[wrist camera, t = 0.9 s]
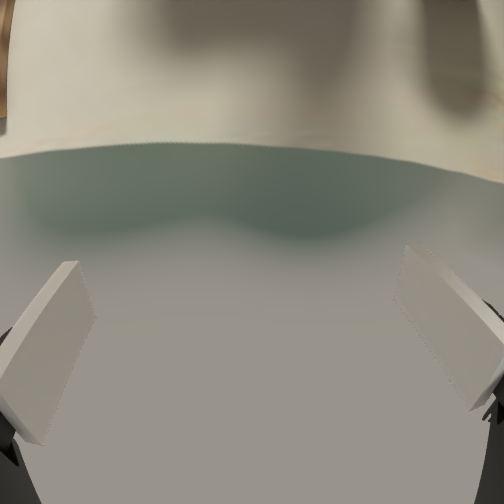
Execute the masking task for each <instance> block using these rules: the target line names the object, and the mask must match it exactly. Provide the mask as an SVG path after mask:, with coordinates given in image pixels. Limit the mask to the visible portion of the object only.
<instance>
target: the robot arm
mask: <svg viewBox="0 0 504 504" xmlns="http://www.w3.org/2000/svg"><path fill="white" fill-rule="evenodd" d="M394 301H395V303H396V304H397V305H398V306H399V308H400V309H401V311H402V312H403V313H404V315H405V316H406V318H407V319H408V320H409V322H410V323H411V324H412V326H413V327H414V329H415V330H416V331H417V333H418V334H419V336H420V337H421V339H422V340H423V341H424V343H425V344H426V346H427V347H428V349H429V350H430V352H431V353H432V355H433V356H434V358H435V359H436V360H437V362H438V363H439V365H440V366H441V368H442V370H443V371H444V373H445V374H446V376H447V377H448V378H449V380H450V382H451V383H452V385H453V386H454V388H455V390H456V391H457V393H458V394H459V396H460V398H461V399H462V401H463V402H464V404H465V406H466V407H467V409H468V411H471V410H473V409H476V408H478V407H480V406H482V405H484V404H485V403H486V401H487V400H488V399H489V397H490V396H491V394H492V393H494V395H495V396H496V399H495V401H494V402H493V403H492V405H491V406H490V408H489V409H488V410H487V412H486V413H485V414H484V416H483V418H482V420H485V419H486V418H487V417H488V415H489V414H490V413H491V418H490V419H489V420H488V422H490V430H489V437H488V443H487V449H486V455H485V460H484V466H483V470H482V475H481V479H480V483H479V487H478V492H477V495H476V499H475V503H474V504H504V318H503V317H502V316H501V315H498V314H499V313H498V312H497V311H496V310H495V309H494V308H493V307H492V306H491V305H490V304H488V303H486V302H485V301H484V300H482V299H480V298H479V297H478V296H477V295H476V294H475V293H474V292H473V291H472V290H471V289H470V288H469V287H468V286H467V285H466V284H465V283H464V282H463V281H462V280H461V279H460V278H459V277H457V276H456V275H455V274H454V273H453V272H452V271H451V270H450V269H449V268H447V266H445V265H444V264H443V263H442V262H441V261H440V260H439V259H438V258H436V257H435V256H434V255H433V254H432V253H431V252H430V251H429V250H427V249H426V248H425V247H424V246H422V245H421V244H406V247H405V252H404V256H403V261H402V266H401V270H400V275H399V279H398V283H397V287H396V291H395V296H394ZM95 319H96V315H95V312H94V309H93V306H92V303H91V300H90V297H89V294H88V290H87V287H86V284H85V280H84V277H83V273H82V270H81V267H80V263H79V261H70V262H69V261H68V262H63V263H62V264H61V265H60V267H59V268H58V269H57V270H56V271H55V273H54V274H53V275H52V276H51V277H50V279H49V280H48V281H47V283H46V284H45V285H44V286H43V288H42V289H41V290H40V291H39V293H38V294H37V295H36V297H35V298H34V299H33V300H32V302H31V303H30V304H29V306H28V307H27V309H26V310H25V311H24V313H23V314H22V315H21V317H20V318H19V320H18V321H17V322H16V324H15V325H14V327H12V328H10V329H9V330H8V331H7V332H6V333H4V334H3V335H2V336H1V338H0V504H41V502H40V499H39V497H38V495H37V493H36V491H35V488H34V486H33V484H32V481H31V479H30V476H29V474H28V471H27V469H26V466H25V463H24V461H23V458H22V455H21V452H20V450H19V446H18V444H17V442H16V441H15V439H14V438H13V436H14V434H15V431H17V433H18V434H19V435H20V436H21V437H22V438H23V439H24V440H25V441H26V442H30V443H33V444H37V445H40V446H44V443H45V440H46V437H47V434H48V431H49V428H50V426H51V423H52V420H53V417H54V415H55V412H56V409H57V406H58V404H59V401H60V399H61V396H62V394H63V391H64V388H65V386H66V384H67V381H68V379H69V377H70V374H71V371H72V369H73V367H74V364H75V362H76V360H77V358H78V356H79V353H80V351H81V349H82V347H83V344H84V342H85V340H86V338H87V336H88V334H89V331H90V329H91V327H92V325H93V323H94V321H95Z"/></svg>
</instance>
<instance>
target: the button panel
mask: <svg viewBox="0 0 504 504" xmlns="http://www.w3.org/2000/svg"><path fill="white" fill-rule="evenodd" d="M14 3H15V0H0V119H1V118H4V117H7V99H6V92H7V62H8V49H9V38H10V30H11V22H12V15H13V9H14Z"/></svg>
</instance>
